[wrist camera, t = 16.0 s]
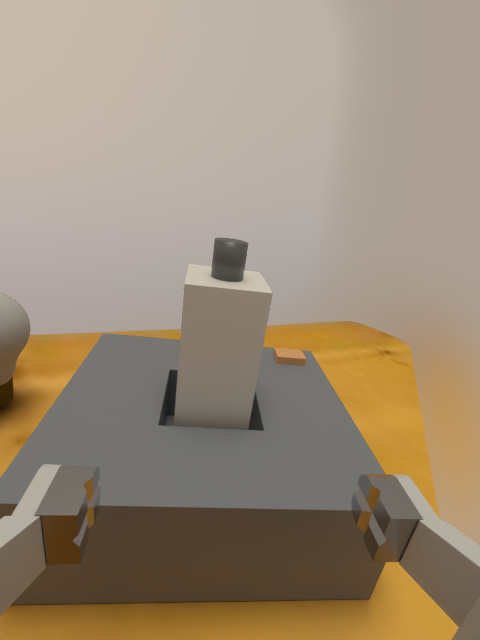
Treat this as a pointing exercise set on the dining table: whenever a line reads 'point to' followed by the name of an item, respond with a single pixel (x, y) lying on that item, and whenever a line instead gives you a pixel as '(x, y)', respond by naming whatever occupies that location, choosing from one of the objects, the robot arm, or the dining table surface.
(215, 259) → the plug
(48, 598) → the socket housing
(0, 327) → the light bulb
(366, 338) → the dining table surface
